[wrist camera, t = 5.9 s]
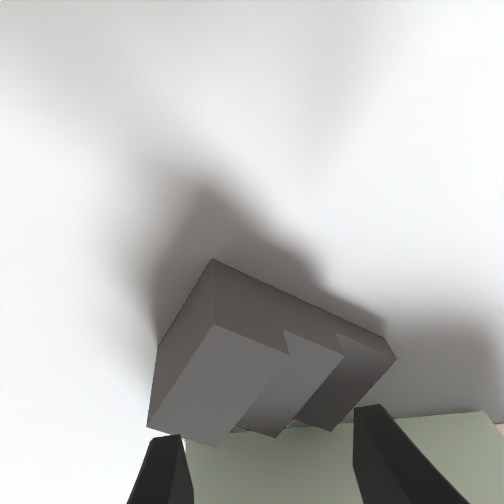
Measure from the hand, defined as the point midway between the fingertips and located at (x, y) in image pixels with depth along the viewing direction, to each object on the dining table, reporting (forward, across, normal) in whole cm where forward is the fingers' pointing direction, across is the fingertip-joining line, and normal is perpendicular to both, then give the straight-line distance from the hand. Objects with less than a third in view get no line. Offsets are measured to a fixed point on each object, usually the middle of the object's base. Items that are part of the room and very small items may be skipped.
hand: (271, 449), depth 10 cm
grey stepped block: (+7, -1, +2) cm, 7 cm away
